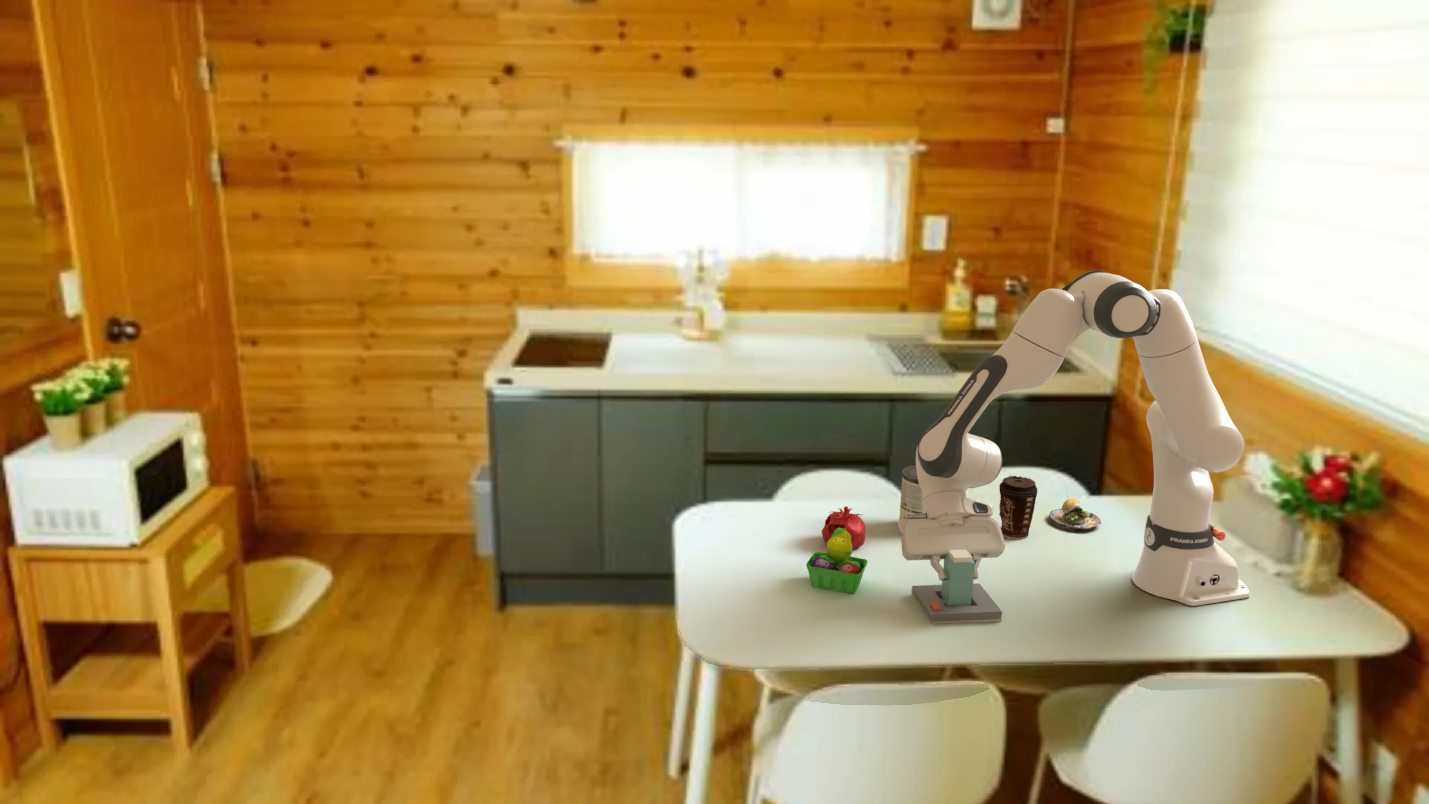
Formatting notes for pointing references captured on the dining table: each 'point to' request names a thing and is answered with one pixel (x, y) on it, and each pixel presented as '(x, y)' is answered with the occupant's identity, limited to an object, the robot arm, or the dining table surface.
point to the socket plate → (942, 613)
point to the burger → (1073, 517)
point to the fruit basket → (837, 565)
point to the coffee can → (910, 492)
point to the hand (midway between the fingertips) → (959, 579)
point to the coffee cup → (1017, 506)
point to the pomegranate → (845, 526)
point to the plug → (958, 578)
